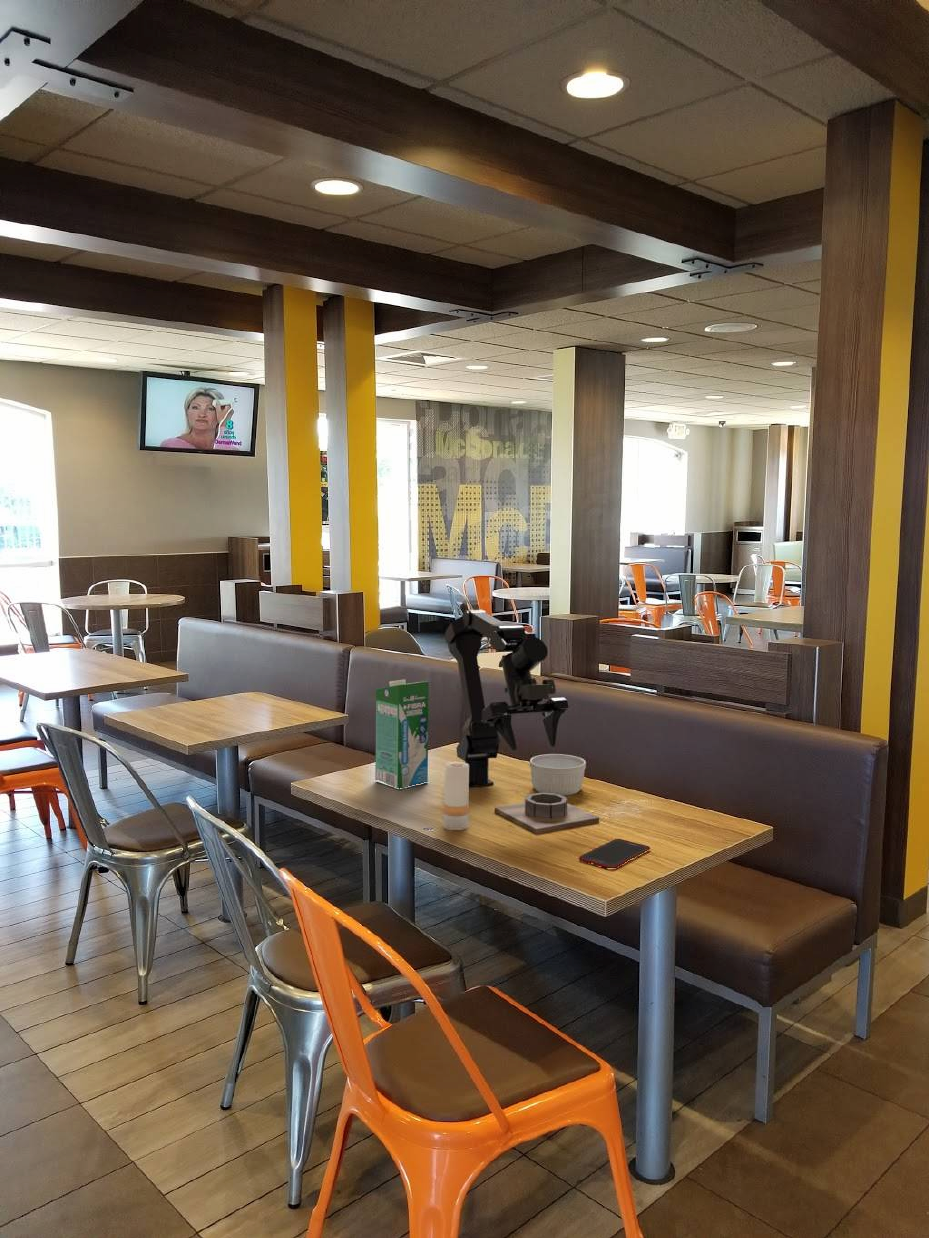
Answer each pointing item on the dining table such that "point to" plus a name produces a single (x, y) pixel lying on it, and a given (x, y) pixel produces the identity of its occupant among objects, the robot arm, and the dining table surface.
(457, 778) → the paper roll
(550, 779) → the ramekin
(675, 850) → the dining table surface
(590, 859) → the cell phone
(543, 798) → the roll holder stand
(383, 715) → the milk carton
